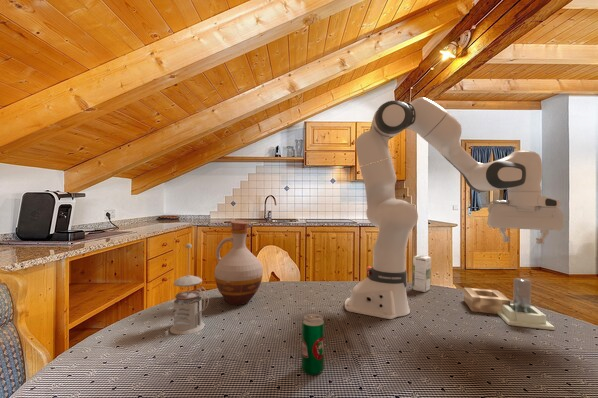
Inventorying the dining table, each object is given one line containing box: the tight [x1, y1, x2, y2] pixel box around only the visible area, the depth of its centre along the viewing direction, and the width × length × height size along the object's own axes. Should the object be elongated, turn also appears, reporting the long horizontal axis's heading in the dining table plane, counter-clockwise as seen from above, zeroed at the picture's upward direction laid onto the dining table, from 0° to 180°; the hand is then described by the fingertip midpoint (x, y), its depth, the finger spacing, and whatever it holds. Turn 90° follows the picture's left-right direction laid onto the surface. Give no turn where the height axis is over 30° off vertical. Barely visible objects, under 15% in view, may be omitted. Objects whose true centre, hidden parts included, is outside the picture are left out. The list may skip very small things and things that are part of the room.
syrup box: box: [411, 254, 432, 293], centre depth 127 cm, size 6×6×14 cm
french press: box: [169, 243, 210, 336], centre depth 88 cm, size 10×12×25 cm
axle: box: [512, 277, 532, 313], centre depth 96 cm, size 4×4×12 cm
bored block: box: [463, 287, 511, 315], centre depth 107 cm, size 12×12×5 cm
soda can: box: [301, 313, 325, 376], centre depth 67 cm, size 5×5×12 cm
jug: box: [214, 220, 264, 306], centre depth 111 cm, size 20×18×30 cm
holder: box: [497, 303, 555, 331], centre depth 96 cm, size 12×12×4 cm
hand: (522, 242), depth 96 cm, fingers open, 8 cm apart
